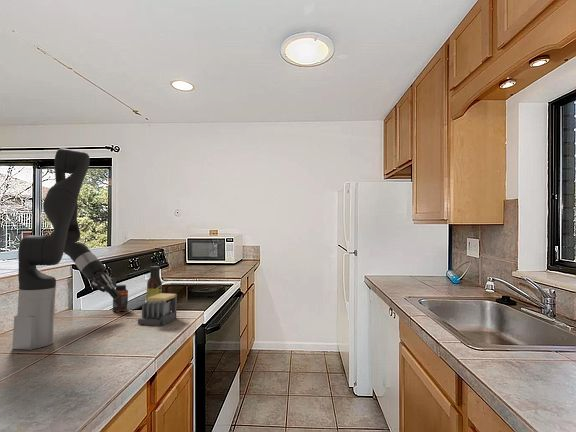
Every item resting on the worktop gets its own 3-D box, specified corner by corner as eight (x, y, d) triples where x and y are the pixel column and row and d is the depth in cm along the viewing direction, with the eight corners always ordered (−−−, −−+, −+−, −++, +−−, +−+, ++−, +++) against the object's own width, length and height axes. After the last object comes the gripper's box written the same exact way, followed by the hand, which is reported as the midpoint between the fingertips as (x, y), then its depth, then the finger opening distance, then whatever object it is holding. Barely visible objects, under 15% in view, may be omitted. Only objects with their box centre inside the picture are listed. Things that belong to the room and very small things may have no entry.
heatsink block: (163, 324, 133) (164, 304, 133) (141, 323, 133) (142, 303, 134) (170, 320, 138) (171, 301, 139) (149, 319, 139) (150, 300, 140)
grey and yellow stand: (163, 325, 130) (164, 298, 130) (137, 324, 131) (138, 297, 131) (176, 318, 141) (177, 293, 141) (152, 317, 142) (153, 292, 142)
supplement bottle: (130, 309, 155) (131, 284, 156) (122, 312, 149) (123, 286, 150) (117, 309, 156) (118, 283, 156) (109, 312, 150) (110, 285, 150)
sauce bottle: (161, 313, 150) (163, 266, 151) (145, 314, 147) (147, 267, 148) (160, 310, 156) (162, 265, 157) (145, 310, 153) (147, 265, 154)
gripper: (85, 260, 133) (113, 293, 131) (106, 258, 146) (133, 288, 144) (71, 273, 133) (99, 307, 131) (94, 270, 146) (120, 301, 144)
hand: (117, 297), depth 138 cm, fingers closed
